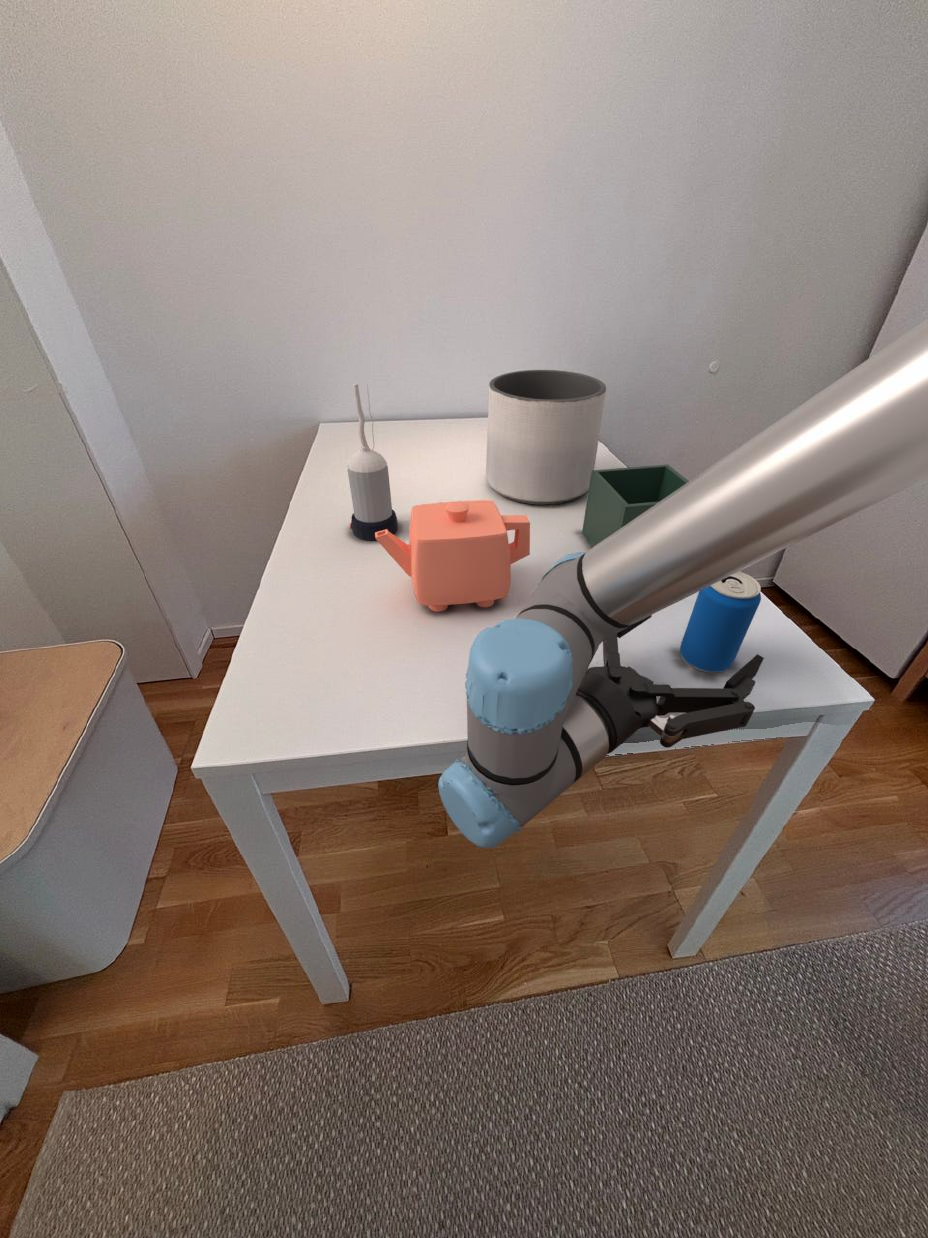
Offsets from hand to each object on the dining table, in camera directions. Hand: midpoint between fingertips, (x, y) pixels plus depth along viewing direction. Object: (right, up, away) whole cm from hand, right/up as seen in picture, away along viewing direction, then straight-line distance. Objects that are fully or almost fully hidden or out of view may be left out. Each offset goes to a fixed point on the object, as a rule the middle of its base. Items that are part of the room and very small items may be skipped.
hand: (700, 634), depth 61 cm
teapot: (-29, +6, +18) cm, 35 cm away
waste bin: (+1, +14, +27) cm, 31 cm away
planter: (-12, +30, +48) cm, 58 cm away
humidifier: (-44, +18, +33) cm, 58 cm away
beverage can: (+3, -4, +6) cm, 8 cm away
